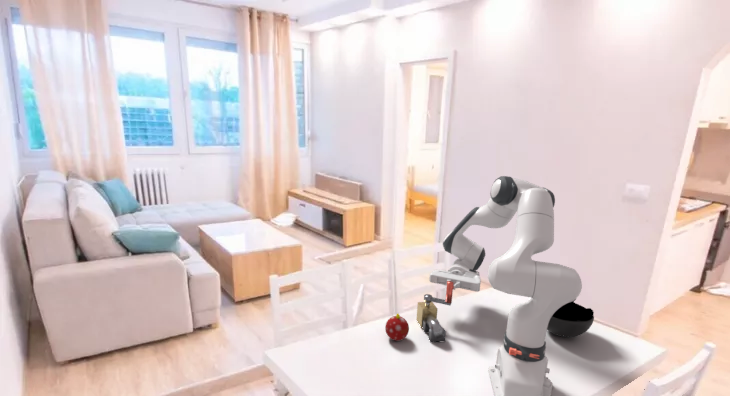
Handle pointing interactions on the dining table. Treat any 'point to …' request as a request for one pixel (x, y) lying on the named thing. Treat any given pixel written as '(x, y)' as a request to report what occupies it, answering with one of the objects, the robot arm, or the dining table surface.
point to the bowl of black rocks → (571, 320)
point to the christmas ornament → (397, 328)
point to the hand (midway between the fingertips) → (451, 287)
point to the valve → (430, 321)
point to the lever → (447, 301)
